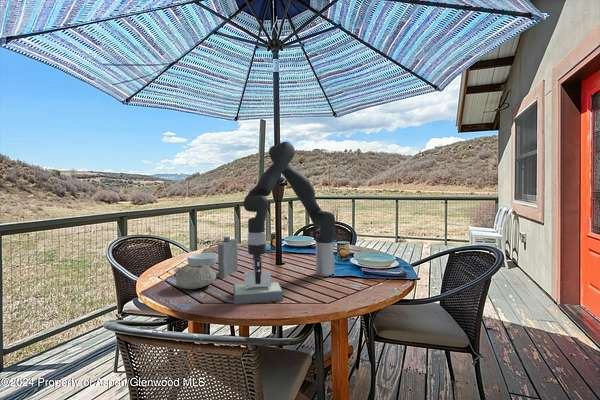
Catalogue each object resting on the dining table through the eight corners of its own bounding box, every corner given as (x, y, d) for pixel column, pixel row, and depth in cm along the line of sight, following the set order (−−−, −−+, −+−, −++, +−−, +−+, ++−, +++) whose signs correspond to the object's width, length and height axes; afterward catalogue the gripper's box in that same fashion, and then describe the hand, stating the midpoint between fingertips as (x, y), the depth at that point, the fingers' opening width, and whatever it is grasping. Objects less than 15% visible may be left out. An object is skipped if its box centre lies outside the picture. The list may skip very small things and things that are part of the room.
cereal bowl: (224, 266, 193) (224, 254, 192) (201, 273, 179) (201, 260, 178) (204, 262, 202) (204, 251, 201) (181, 268, 188) (181, 256, 187)
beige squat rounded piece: (194, 279, 168) (193, 259, 167) (223, 283, 161) (223, 263, 160) (168, 290, 151) (167, 268, 151) (199, 295, 144) (198, 272, 144)
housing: (244, 283, 144) (243, 268, 144) (269, 281, 146) (269, 267, 146) (244, 288, 137) (244, 273, 137) (271, 286, 139) (271, 271, 139)
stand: (278, 290, 150) (278, 281, 150) (283, 300, 138) (282, 290, 137) (233, 293, 146) (233, 284, 146) (233, 304, 134) (233, 294, 133)
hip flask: (222, 278, 168) (222, 239, 167) (216, 278, 170) (215, 239, 168) (238, 270, 183) (237, 234, 182) (232, 269, 185) (231, 234, 183)
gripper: (247, 239, 147) (247, 277, 148) (248, 246, 133) (249, 287, 134) (264, 238, 148) (264, 276, 149) (267, 245, 134) (268, 286, 135)
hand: (257, 281), depth 142 cm, fingers open, 5 cm apart
